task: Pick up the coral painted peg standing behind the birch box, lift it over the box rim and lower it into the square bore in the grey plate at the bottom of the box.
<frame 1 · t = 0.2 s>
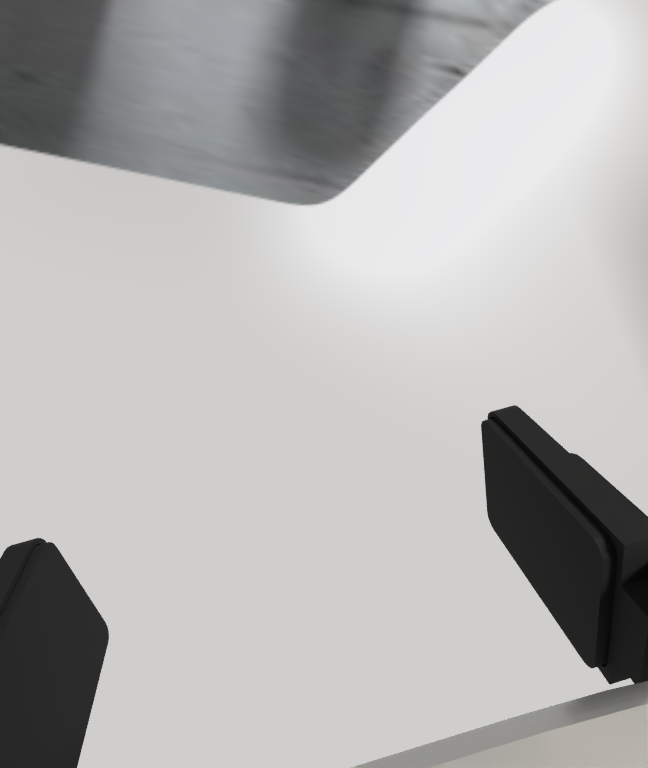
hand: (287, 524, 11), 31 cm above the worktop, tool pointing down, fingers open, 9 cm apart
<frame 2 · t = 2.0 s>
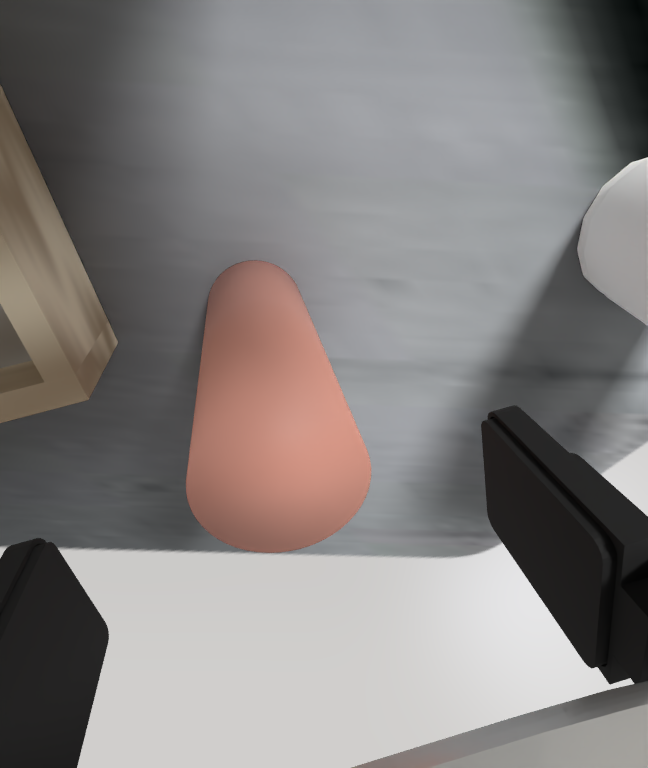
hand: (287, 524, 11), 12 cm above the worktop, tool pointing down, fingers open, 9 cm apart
foam cup: (638, 228, 23), on the worktop
peg: (255, 307, 21), on the worktop
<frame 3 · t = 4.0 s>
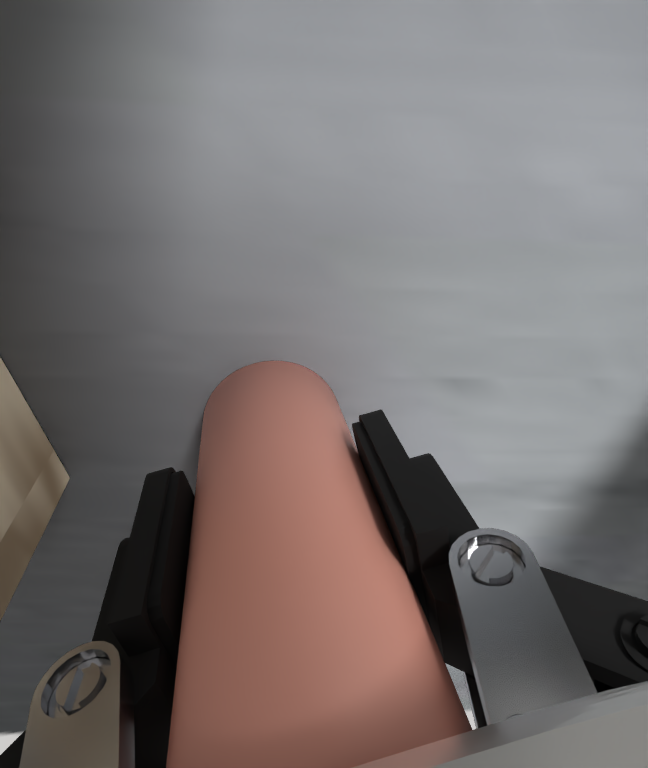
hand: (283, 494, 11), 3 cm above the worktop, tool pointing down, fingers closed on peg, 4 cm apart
peg: (272, 423, 14), on the worktop, touching gripper
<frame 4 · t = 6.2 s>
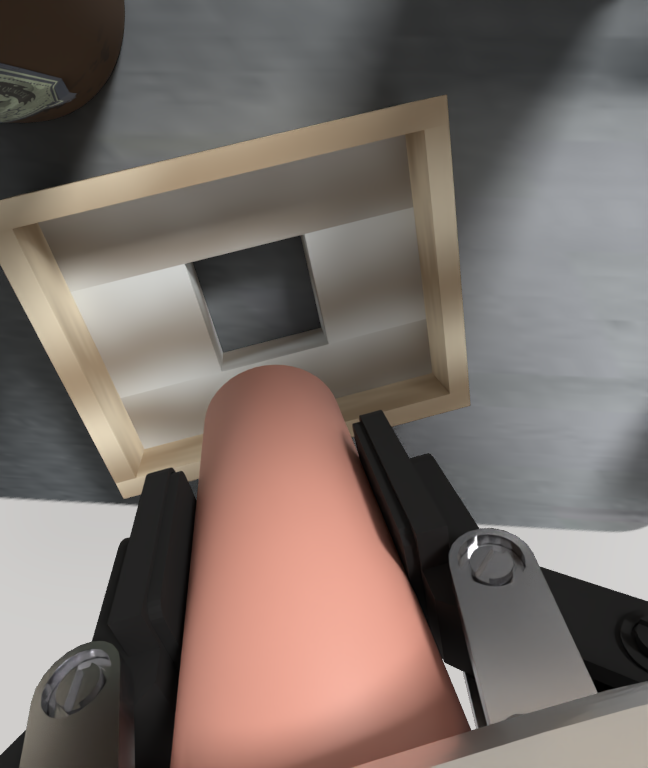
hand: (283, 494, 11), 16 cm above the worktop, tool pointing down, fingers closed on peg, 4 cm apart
box: (258, 292, 26), on the worktop
peg: (273, 426, 14), point 13 cm above the worktop, touching gripper
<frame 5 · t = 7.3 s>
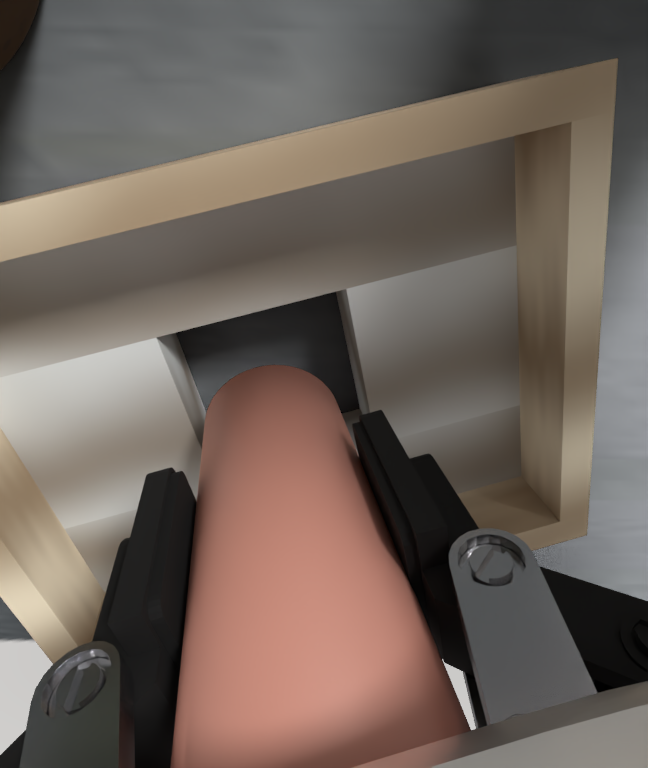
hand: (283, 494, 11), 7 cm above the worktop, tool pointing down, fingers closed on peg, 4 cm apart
box: (271, 363, 18), on the worktop
peg: (273, 427, 14), point 4 cm above the worktop, touching gripper
when the fingers open (5 cm above the worktop, at t = 8.4 s): peg drops 1 cm, resting in box.
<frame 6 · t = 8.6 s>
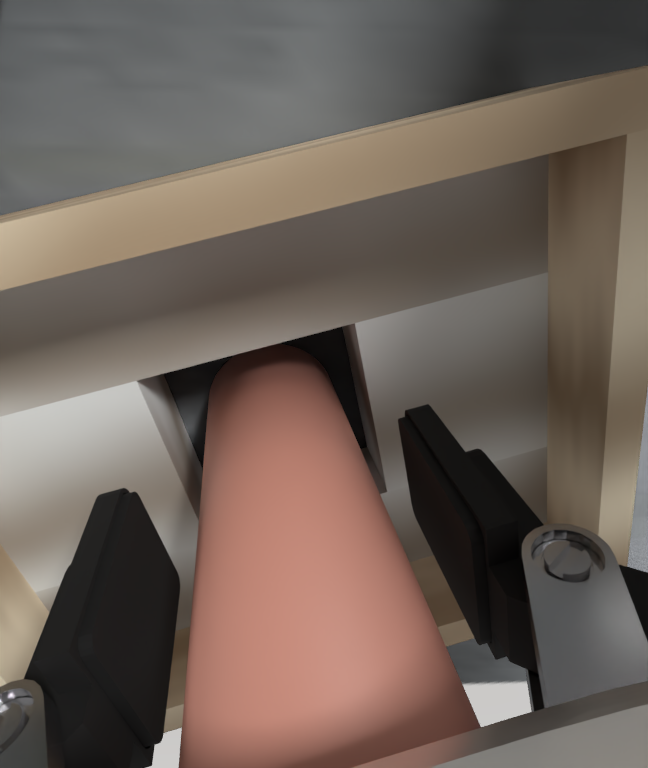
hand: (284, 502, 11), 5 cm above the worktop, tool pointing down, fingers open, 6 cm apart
box: (269, 400, 16), on the worktop
peg: (272, 401, 16), resting in box
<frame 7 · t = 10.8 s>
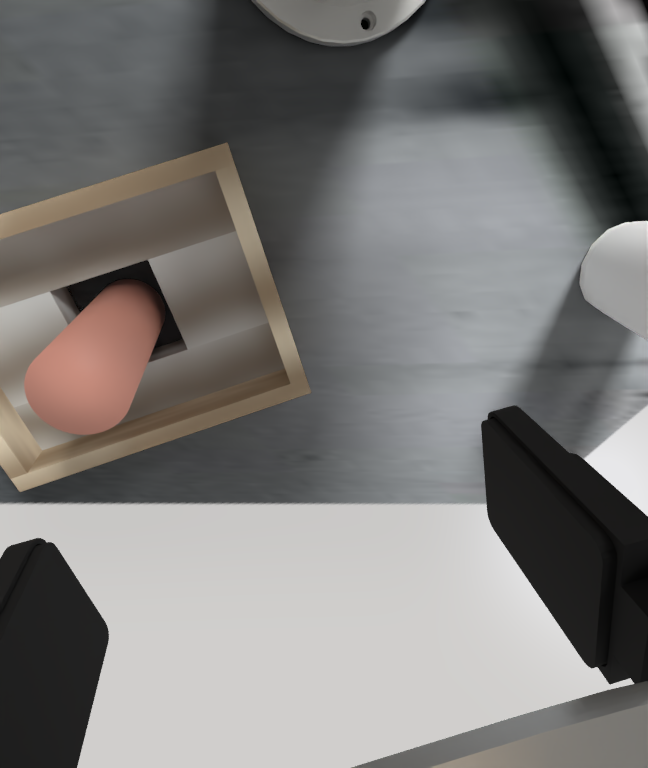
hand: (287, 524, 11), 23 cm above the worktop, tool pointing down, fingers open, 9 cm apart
foam cup: (617, 267, 35), on the worktop
box: (129, 310, 30), on the worktop
peg: (131, 310, 30), resting in box
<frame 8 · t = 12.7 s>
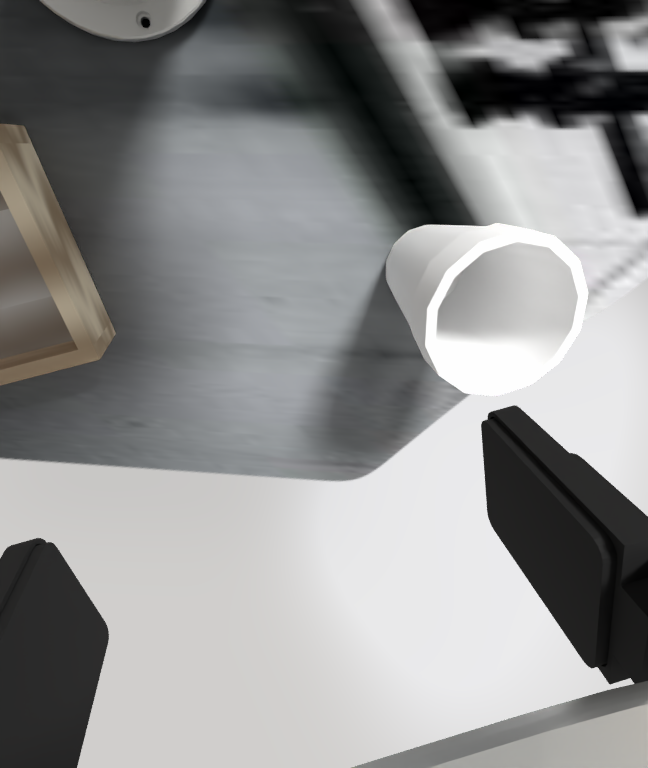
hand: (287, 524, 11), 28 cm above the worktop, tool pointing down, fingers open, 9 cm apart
foam cup: (423, 266, 38), on the worktop
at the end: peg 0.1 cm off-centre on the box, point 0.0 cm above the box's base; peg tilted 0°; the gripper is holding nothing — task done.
